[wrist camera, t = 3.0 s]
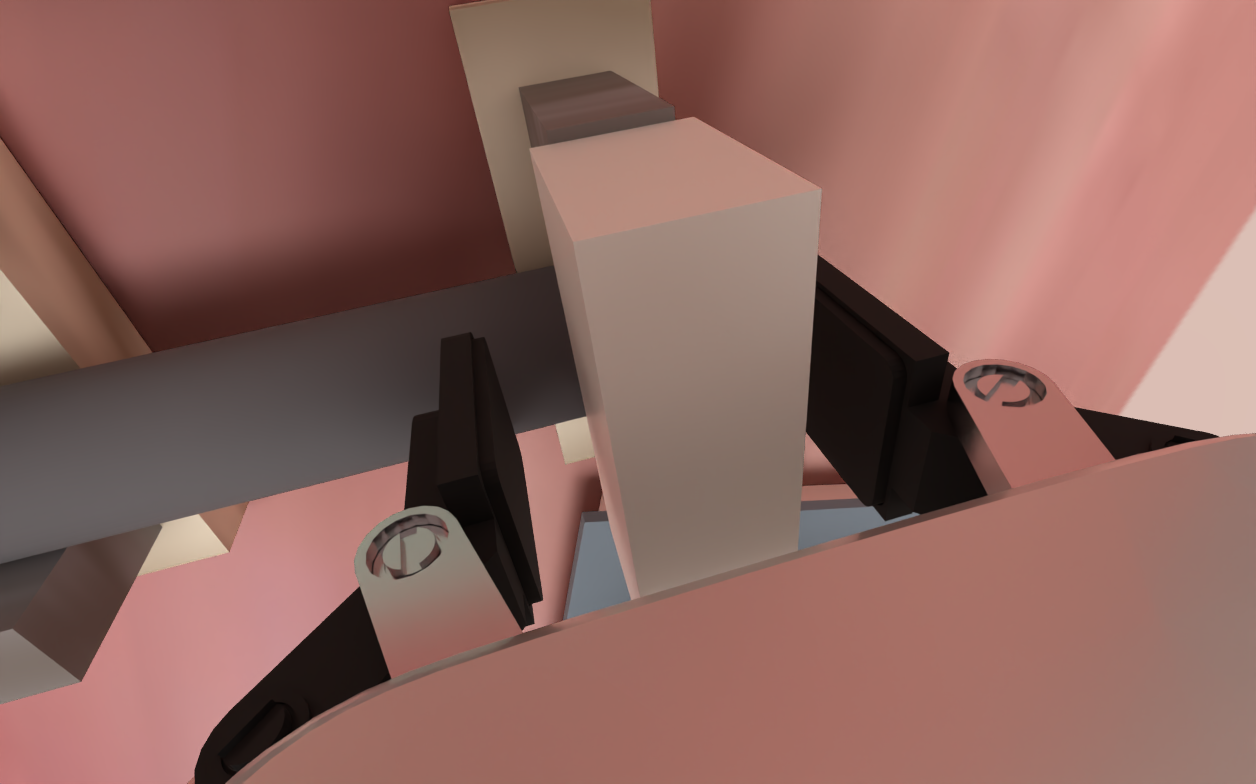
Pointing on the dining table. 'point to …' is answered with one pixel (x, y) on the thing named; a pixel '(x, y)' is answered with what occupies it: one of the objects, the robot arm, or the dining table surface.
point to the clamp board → (101, 332)
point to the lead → (263, 410)
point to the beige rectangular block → (687, 339)
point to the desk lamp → (602, 576)
